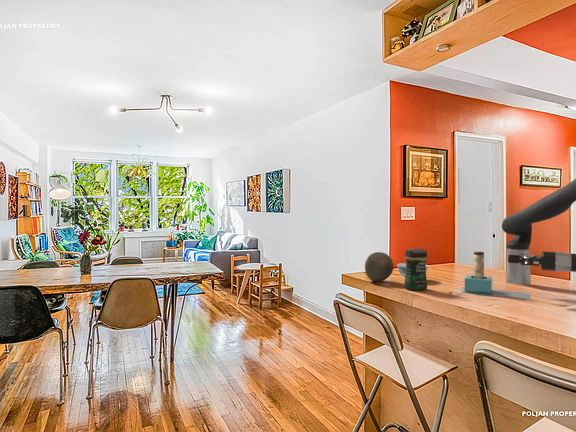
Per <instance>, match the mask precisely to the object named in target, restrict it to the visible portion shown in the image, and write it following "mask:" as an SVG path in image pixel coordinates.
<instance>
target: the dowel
mask: <svg viewBox="0 0 576 432" xmlns="http://www.w3.org/2000/svg"><path fill="white" fill-rule="evenodd" d="M473 275H474V278H476V279H484V276H485V252H484V251H473Z"/></svg>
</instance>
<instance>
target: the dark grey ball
mask: <svg viewBox="0 0 576 432" xmlns="http://www.w3.org/2000/svg"><path fill="white" fill-rule="evenodd" d="M364 271H365V274H366V276H367V278H368V279H369V280H370V281H372V282H374V283H380V282H381V283H382V282H384V281H385V280H386V281H387V279H388V278H390V277H391V275H392V274H393V271H394V262H393V259H392V258H391V256H389V255H388V253H386V252H381V251H377V252H373V253H371V254H369V255H368V257H367V258H366V260H365V263H364Z"/></svg>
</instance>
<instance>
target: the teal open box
mask: <svg viewBox="0 0 576 432" xmlns="http://www.w3.org/2000/svg"><path fill="white" fill-rule="evenodd" d="M464 287H465V292H466V293H465V294H467V293H476V294H475V295H477V294H486V295H485V296H488V295H491V294H492V290H493V276H489V275H484V279H476V278H474V274H466V275H465V277H464Z"/></svg>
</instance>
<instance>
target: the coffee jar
mask: <svg viewBox="0 0 576 432" xmlns="http://www.w3.org/2000/svg"><path fill="white" fill-rule="evenodd" d="M404 259H405V263H406V275H405V277H404V278H405V279H404V288H405V289H406V290H411V291H425V290H427V289H428V278H427V271H426V265H427V260H428V251H427V250H426V249H422V248H408V249H406V250H405V254H404Z"/></svg>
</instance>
